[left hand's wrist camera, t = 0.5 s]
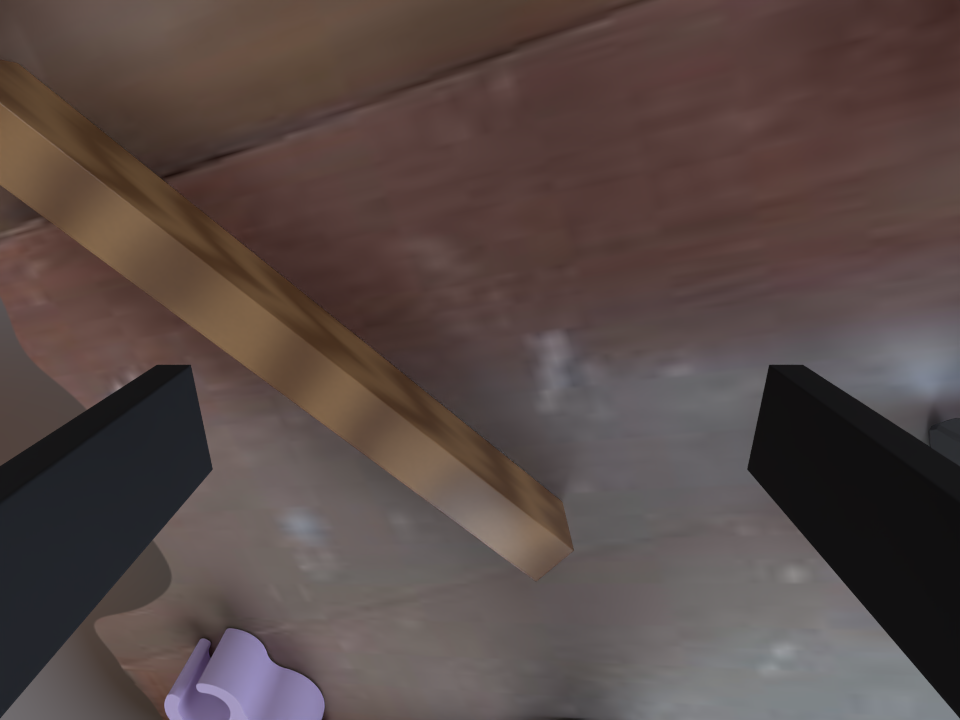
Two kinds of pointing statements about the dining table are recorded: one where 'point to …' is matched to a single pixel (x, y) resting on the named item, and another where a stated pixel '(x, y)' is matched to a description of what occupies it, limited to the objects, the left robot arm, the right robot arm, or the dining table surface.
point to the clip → (241, 685)
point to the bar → (266, 322)
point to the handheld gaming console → (947, 439)
